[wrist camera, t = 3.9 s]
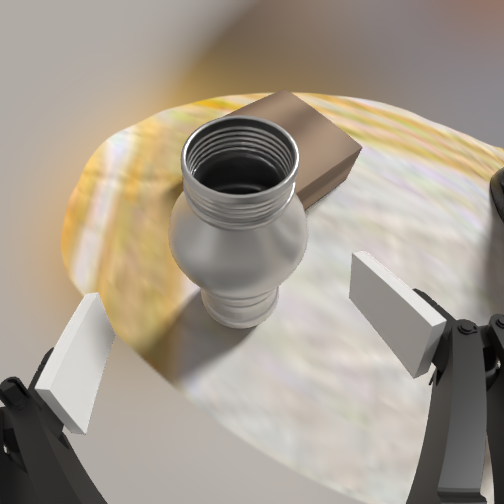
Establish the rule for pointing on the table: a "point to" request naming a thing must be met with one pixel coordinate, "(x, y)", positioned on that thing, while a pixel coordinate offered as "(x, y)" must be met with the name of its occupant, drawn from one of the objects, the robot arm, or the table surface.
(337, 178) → the walnut block
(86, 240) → the table surface
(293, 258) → the plastic bottle
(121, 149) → the table surface
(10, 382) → the robot arm
